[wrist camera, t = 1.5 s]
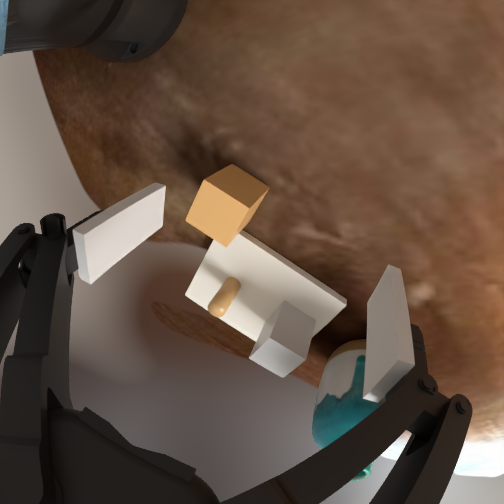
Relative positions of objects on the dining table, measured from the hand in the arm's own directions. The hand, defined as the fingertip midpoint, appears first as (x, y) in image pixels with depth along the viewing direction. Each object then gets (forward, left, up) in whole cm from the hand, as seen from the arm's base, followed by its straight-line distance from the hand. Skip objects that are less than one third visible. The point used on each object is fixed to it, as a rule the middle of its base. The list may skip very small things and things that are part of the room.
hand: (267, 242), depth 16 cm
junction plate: (+4, -17, -17) cm, 25 cm away
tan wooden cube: (-5, -7, -17) cm, 19 cm away
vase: (+21, -17, -17) cm, 32 cm away
